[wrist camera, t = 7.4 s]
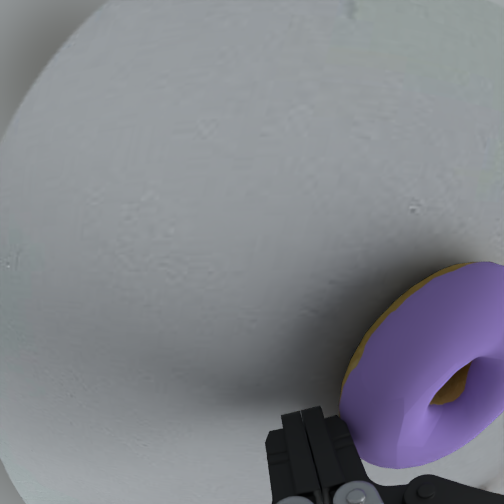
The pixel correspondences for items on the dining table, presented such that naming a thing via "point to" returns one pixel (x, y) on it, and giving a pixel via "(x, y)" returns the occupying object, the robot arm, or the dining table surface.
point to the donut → (429, 369)
